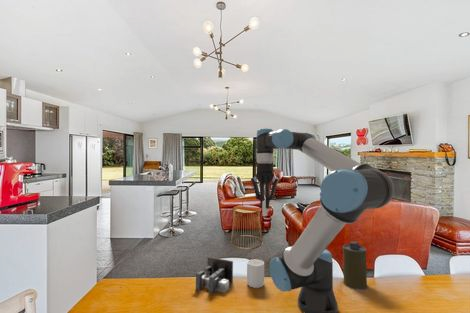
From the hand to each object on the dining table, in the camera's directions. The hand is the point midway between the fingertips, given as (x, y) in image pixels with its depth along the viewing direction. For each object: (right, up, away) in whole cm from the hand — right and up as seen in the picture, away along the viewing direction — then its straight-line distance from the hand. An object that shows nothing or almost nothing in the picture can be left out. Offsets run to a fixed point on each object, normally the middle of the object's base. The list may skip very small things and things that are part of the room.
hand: (264, 215), depth 107 cm
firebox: (-24, -35, +6) cm, 43 cm away
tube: (-23, -35, +4) cm, 42 cm away
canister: (+45, -36, +8) cm, 58 cm away
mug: (-4, -35, +10) cm, 37 cm away
